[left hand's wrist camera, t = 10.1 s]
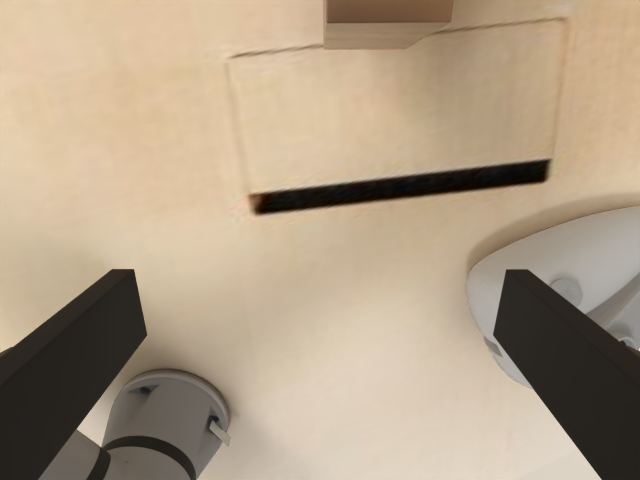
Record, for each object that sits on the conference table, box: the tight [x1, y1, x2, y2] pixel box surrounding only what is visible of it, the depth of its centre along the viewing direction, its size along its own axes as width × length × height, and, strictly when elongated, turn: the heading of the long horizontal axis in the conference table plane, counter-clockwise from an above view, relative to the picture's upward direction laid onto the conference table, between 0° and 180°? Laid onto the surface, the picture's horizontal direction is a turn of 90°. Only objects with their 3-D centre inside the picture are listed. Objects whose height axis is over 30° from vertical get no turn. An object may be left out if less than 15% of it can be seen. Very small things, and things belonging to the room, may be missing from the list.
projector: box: [466, 206, 640, 389], centre depth 35 cm, size 22×23×15 cm
